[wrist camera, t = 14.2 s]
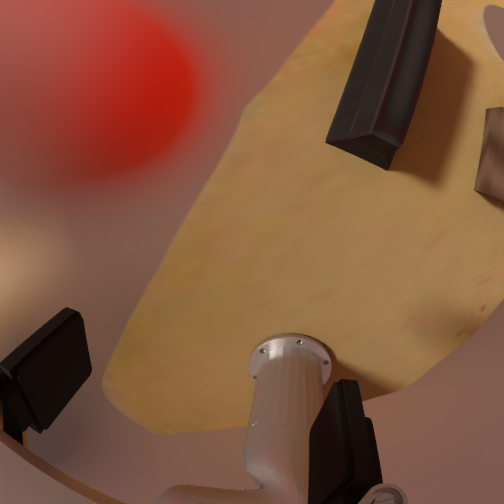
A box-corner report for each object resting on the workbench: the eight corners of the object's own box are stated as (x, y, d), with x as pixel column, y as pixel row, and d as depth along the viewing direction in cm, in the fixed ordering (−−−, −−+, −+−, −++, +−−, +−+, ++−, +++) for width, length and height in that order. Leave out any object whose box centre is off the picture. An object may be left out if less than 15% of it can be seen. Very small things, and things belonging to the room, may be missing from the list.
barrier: (387, 171, 33) (420, 179, 23) (323, 142, 33) (335, 137, 23) (433, 24, 24) (466, -3, 15) (375, -6, 24) (395, -42, 15)
